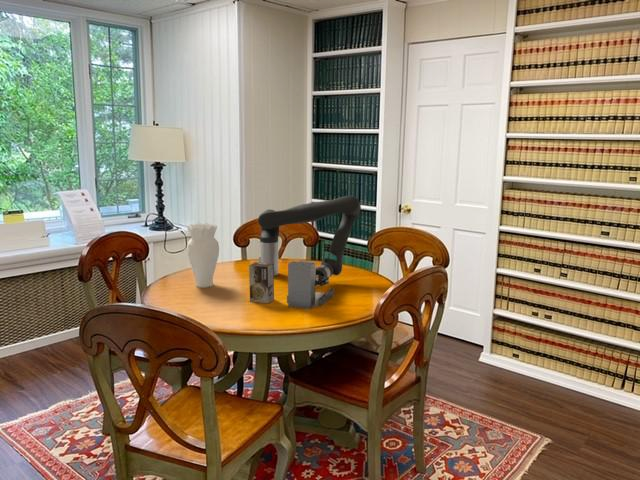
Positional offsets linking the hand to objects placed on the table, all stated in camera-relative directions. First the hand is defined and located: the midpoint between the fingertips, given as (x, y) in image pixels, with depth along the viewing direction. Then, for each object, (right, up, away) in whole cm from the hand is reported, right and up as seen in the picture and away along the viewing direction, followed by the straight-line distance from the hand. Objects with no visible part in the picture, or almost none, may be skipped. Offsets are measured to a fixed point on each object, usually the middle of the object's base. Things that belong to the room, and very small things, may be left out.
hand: (306, 284), depth 228 cm
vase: (-49, -3, +27) cm, 56 cm away
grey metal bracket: (+1, -7, +5) cm, 9 cm away
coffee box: (-19, -7, +4) cm, 21 cm away
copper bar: (+1, -7, +4) cm, 8 cm away
